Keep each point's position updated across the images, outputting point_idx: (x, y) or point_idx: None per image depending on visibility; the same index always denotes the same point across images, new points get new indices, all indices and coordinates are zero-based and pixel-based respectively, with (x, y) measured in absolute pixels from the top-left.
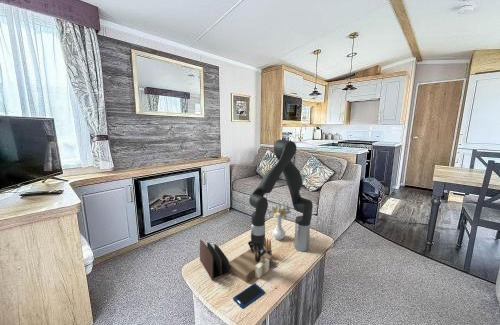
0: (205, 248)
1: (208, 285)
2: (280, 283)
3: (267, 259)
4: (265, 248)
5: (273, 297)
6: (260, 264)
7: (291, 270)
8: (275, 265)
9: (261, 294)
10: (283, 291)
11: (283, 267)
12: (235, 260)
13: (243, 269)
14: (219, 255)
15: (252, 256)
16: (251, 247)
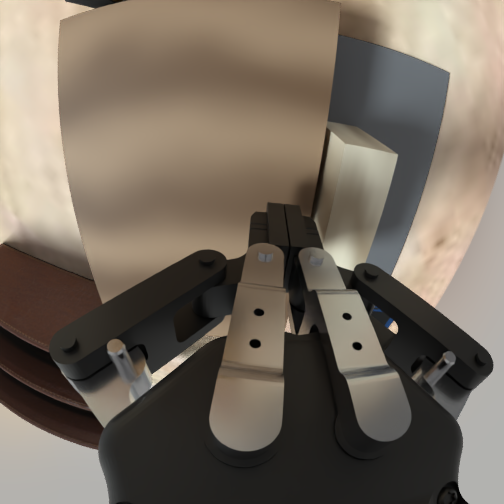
0: (36, 412)
1: (164, 369)
2: (455, 200)
3: (375, 155)
4: (460, 405)
5: (435, 290)
6: (343, 265)
7: (478, 55)
8: (373, 46)
9: (391, 322)
10: (471, 239)
11: (429, 40)
12: (111, 281)
13: (228, 316)
14: (33, 299)
15: (156, 149)
16: (171, 359)
